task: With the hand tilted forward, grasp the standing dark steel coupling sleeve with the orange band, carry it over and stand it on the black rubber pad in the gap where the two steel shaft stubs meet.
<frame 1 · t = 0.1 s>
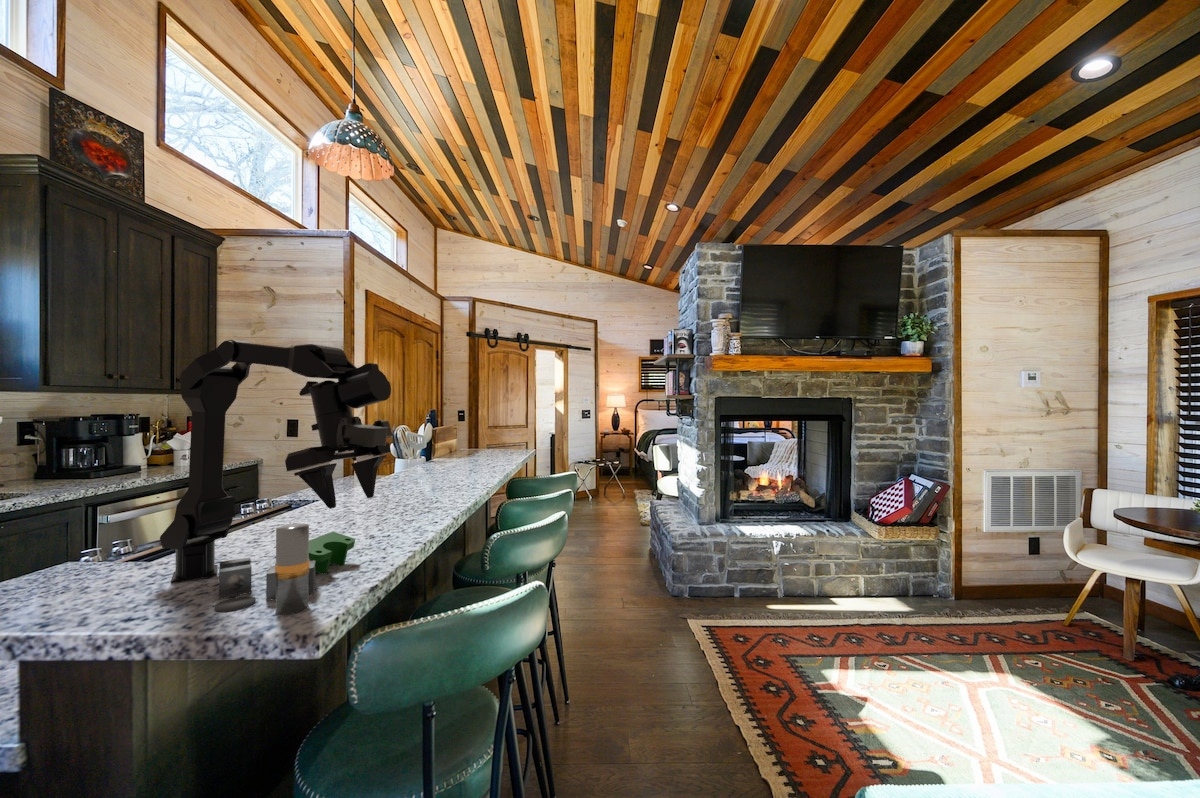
hand: (352, 502, 85), 15 cm above the counter, tool pointing down, fingers open, 9 cm apart
clamp: (323, 570, 97), on the counter
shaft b: (291, 592, 84), on the counter
pad: (235, 604, 79), on the counter
sleeve: (292, 609, 78), on the counter
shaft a: (235, 589, 86), on the counter
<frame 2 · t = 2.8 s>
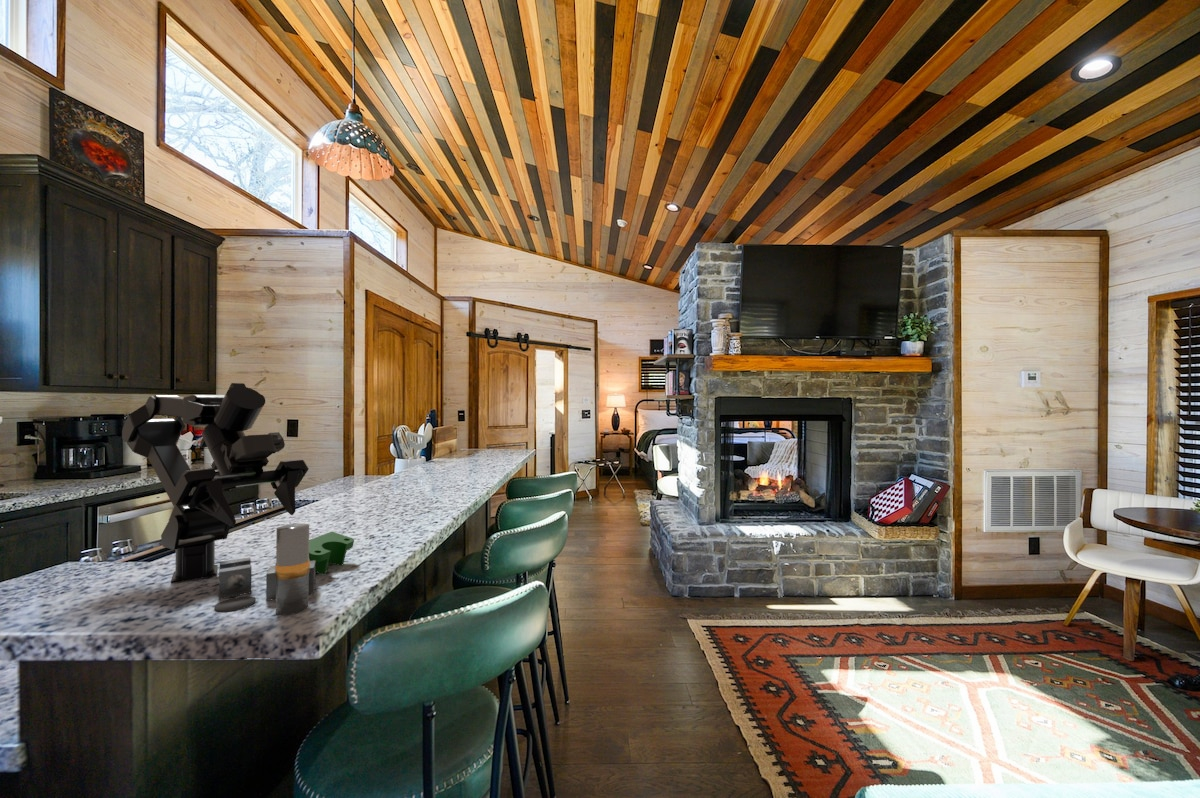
hand: (265, 518, 81), 13 cm above the counter, tool tilted 45°, fingers open, 9 cm apart
nothing on the counter moved.
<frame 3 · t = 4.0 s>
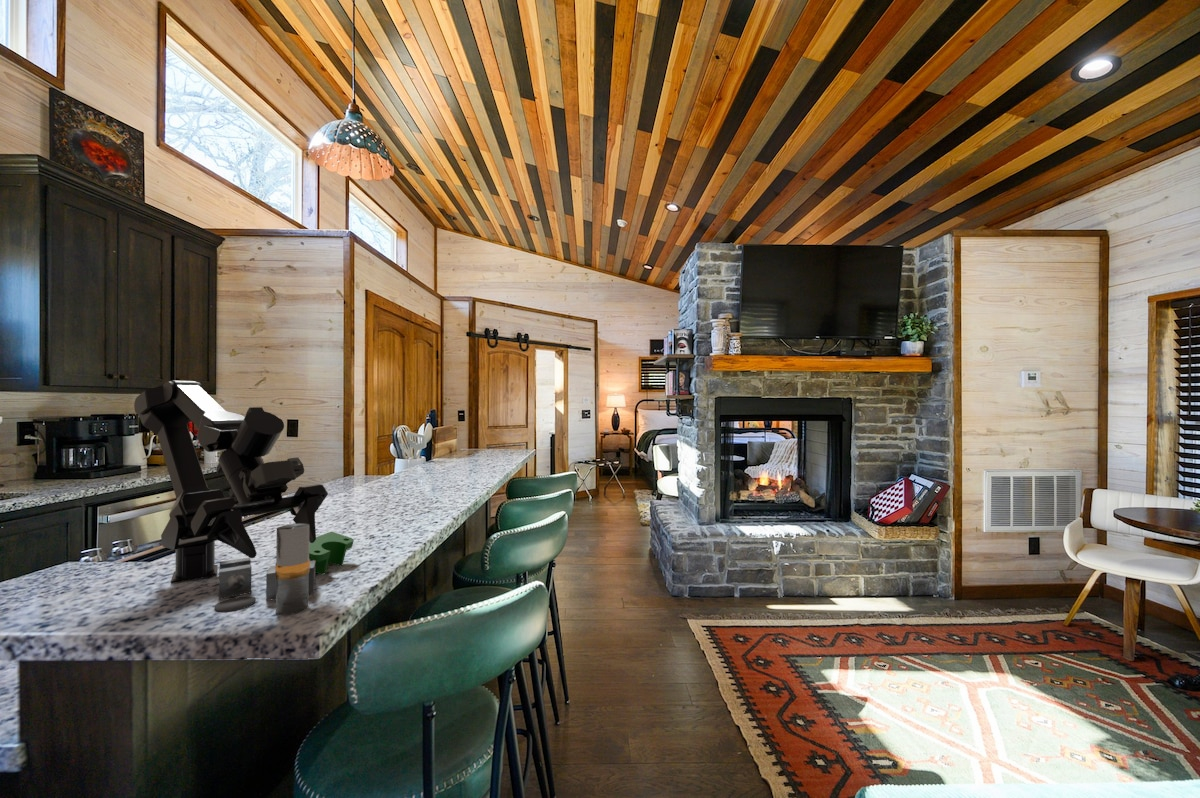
hand: (285, 548, 79), 9 cm above the counter, tool tilted 45°, fingers open, 9 cm apart
nothing on the counter moved.
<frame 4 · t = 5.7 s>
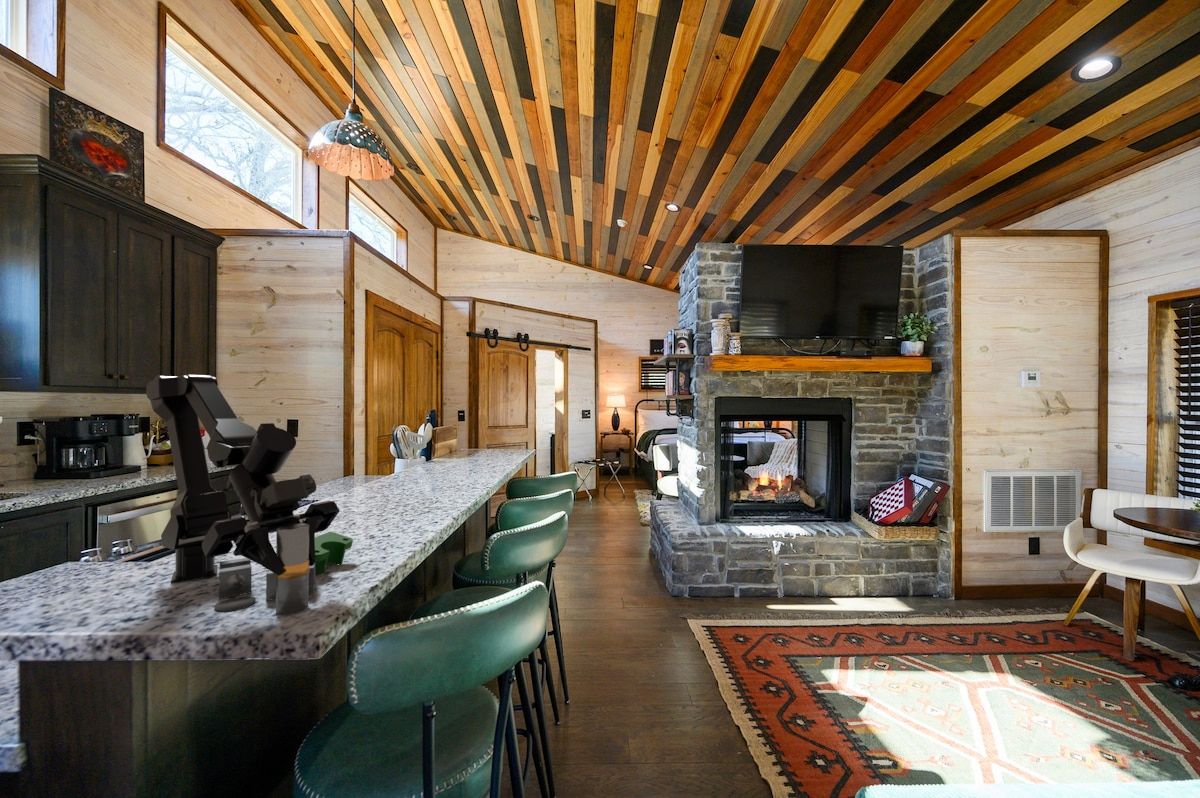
hand: (297, 568, 77), 7 cm above the counter, tool tilted 45°, fingers closed on sleeve, 5 cm apart
sleeve: (292, 608, 78), on the counter, touching gripper
everything else where it was.
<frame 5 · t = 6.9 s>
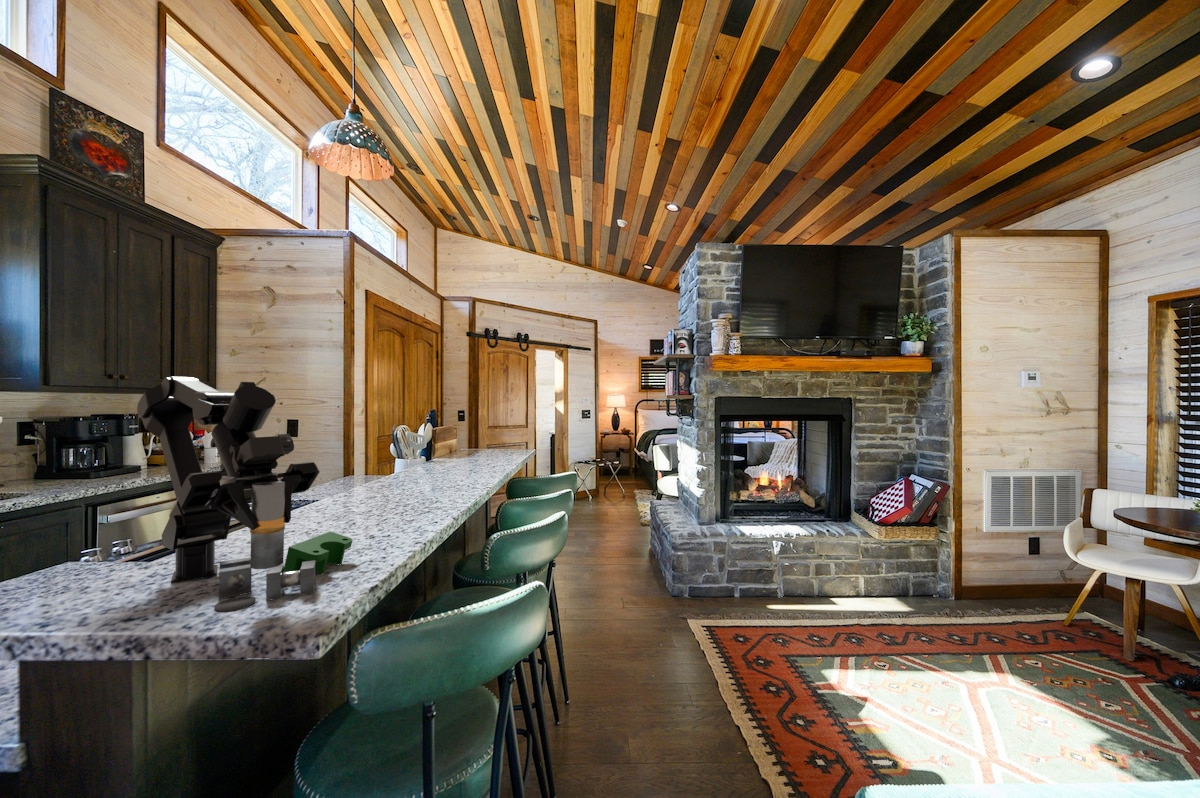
hand: (271, 524, 78), 13 cm above the counter, tool tilted 45°, fingers closed on sleeve, 5 cm apart
sleeve: (267, 564, 79), point 7 cm above the counter, touching gripper
everything else where it was.
when the fingers open (8 cm above the counter, at t = 8.6 s): sleeve stays where it is, resting on pad.
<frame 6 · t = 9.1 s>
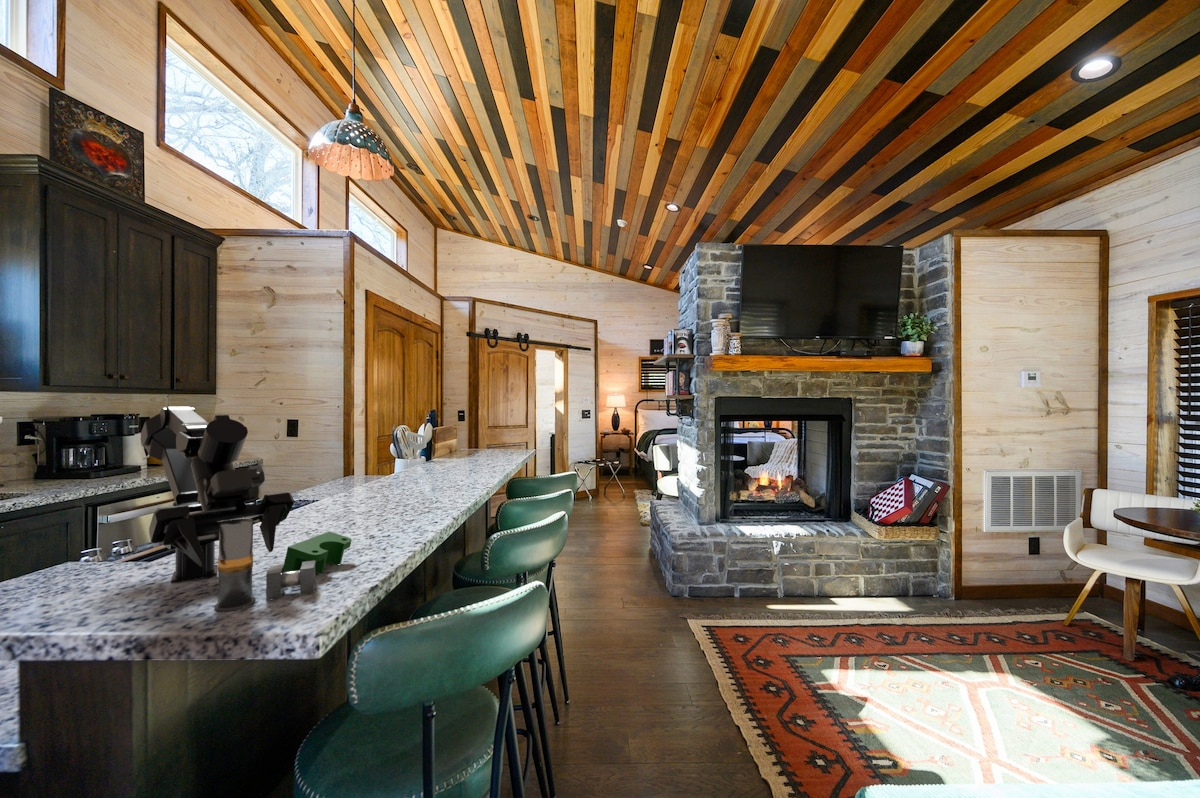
hand: (238, 557, 79), 8 cm above the counter, tool tilted 45°, fingers open, 9 cm apart
sleeve: (235, 602, 79), resting on pad
everything else where it was.
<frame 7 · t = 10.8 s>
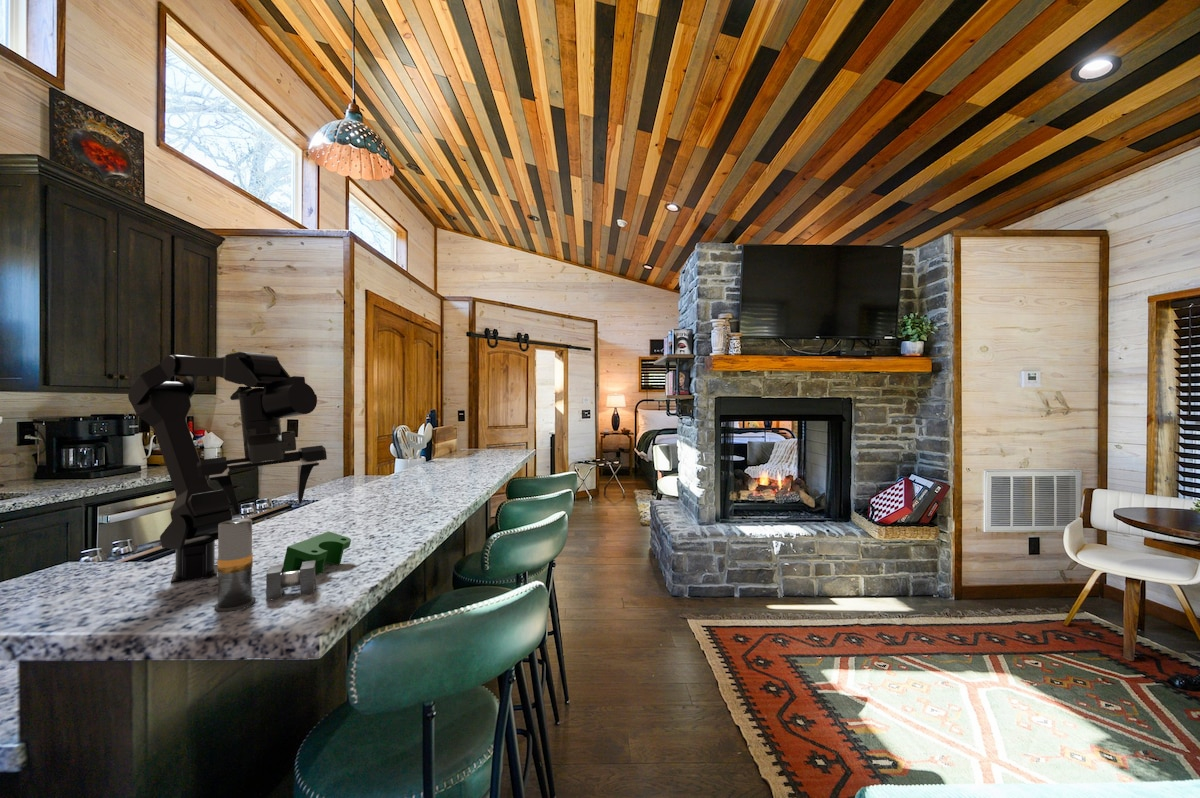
hand: (270, 508, 87), 14 cm above the counter, tool pointing down, fingers open, 9 cm apart
nothing on the counter moved.
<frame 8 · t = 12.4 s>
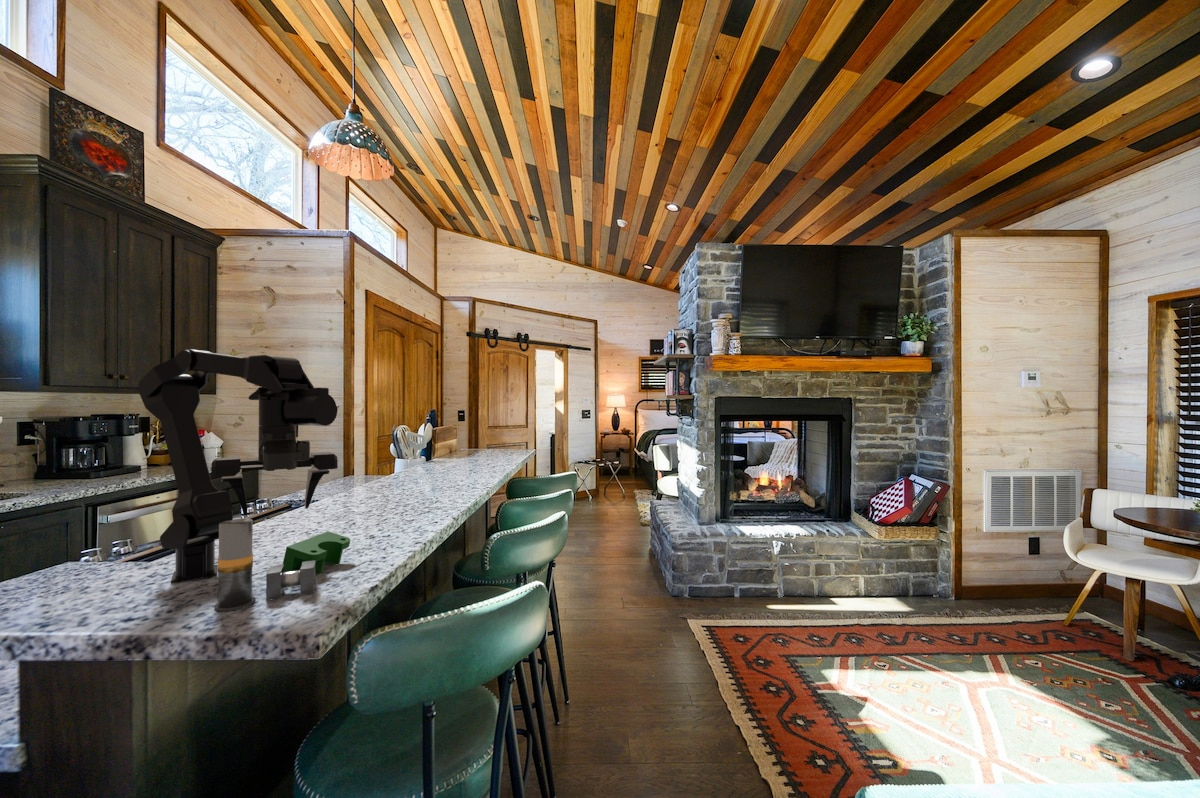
hand: (277, 511, 89), 13 cm above the counter, tool pointing down, fingers open, 9 cm apart
at the end: sleeve inside the target area (0.1 cm from its centre), resting on pad; sleeve tilted 0°; the gripper is holding nothing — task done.
